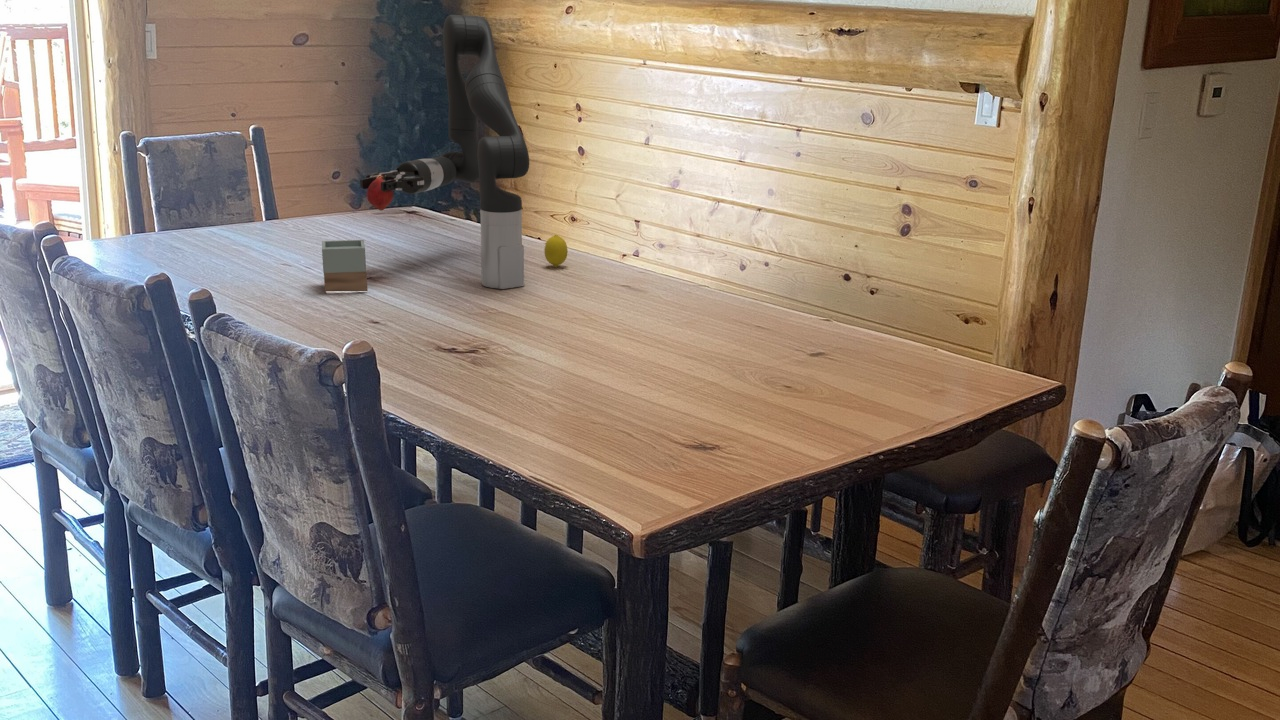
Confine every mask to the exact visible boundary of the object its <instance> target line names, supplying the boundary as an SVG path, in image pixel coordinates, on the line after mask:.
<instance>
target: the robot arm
mask: <svg viewBox="0 0 1280 720" xmlns="http://www.w3.org/2000/svg"><path fill="white" fill-rule="evenodd" d="M442 29H443V31H442V42H443V43H442V45H443V54H444V68H445V76H446V87H447V96H448V138H449V140H450V141H451V142H452V143H455V144H458V145H459V146H460V149H461V151H462V152H458V151H447V152H444V153H442V154H440V155H439V156H437V157H431V158H419V159H414V160H413V159H412V160H409V161H404V162H402V163H400V164H399V165H398V166H397V168H396V169H395V170H390V171H388V172H387V171H386V172H382V171H376V172H372V173H369V174H366V175H365V178H361V179H360V180H359V183H360V186H359V187H360V189H361V190H367V189H368V187H369V185H370V184H371V183H372V182H373V181H374V180H375V179H376V178H377V176H379V175H382V176H383V178H382V179H383V180H385V181H382V182H381V191H383V192H386V191H390V190H393V191H401V192H402V193H405V194H407V195H414V194H418V193H424V192H429V191H431V190H434V189H437V188H440V187H444V186H447V185H450V184H451V183H453V181H457V182H464V183H470V184H471V183H472V184H473V183H477V182H478V181H479V205H480V206H479V209H480V213H479V214H480V266H481V285H482V286H484V287H486V288H492V289H498V290H507V289H512V288H513V289H514V288H518V287H519V288H520V287H523V286H525V256H524V255H525V252H524V251H525V249H524V248H525V246H524V245H523V224H522V223H523V201H522V197H521V196H520V195H518V194H516V193H513V192H510V191H506V190H504V189H502V188H501V187H499V186H498V185H497V181H496V180H498V179H504V180H505V179H518V178H523V177H524V176H525V175H527V173H528V172H529V169H530V156H529V155H530V154H529V151H528V147H527V143H526V141H525V138H524V135H523V133H522V132H521V129H520V127H519V124H518V122H517V120H516V118H515V114H514V111H513V108H512V104H511V100H510V96H509V93H508V90H507V87H506V83H505V80H504V78H503V75H502V72H501V70H500V69H501V68H500V65H499V62H498V59H497V55H496V48H495V45H494V38H493V35H492V29H491V26H490V24H489V21H488V20H487V19H486V18H485V17H483V16H479V15H477V16H476V15H466V14H465V15H464V14H449V15H448V16H446V18H445V20H444V23H443V28H442ZM459 56H471V57H472V56H473V57H478V61H477V62H476V64H475V65H474V66H473V67H472V69H471V70H470V72H469V74H468V75H467V77H466V79H464V77H463V75H462V71H461V69H460V64H459ZM478 121H481V123H484V125H486V126H487V127H489V129H491V130H492V131H494V133H496V134H497V135H498V136H497V135H496V136H495V135H493V136H491V135H490V136H483V137H481V138H480V139H479V136H478V125H479V122H478Z"/></svg>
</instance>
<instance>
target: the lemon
mask: <svg viewBox="0 0 1280 720" xmlns="http://www.w3.org/2000/svg"><path fill="white" fill-rule="evenodd" d="M567 256H568V246H567V242H566V241H565V239H564V238H562V236H560V235H558V234H554V235H553V236H551V237H550V238H548V239H547V240H546V242H545V246H544V257H545V260H546V261H547V262H548V263H549V264H551V265H552V266H553V267H554V268H557V267H558V268H559V265H561V264H563V263H564V262H566V259H567Z"/></svg>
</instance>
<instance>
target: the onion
mask: <svg viewBox="0 0 1280 720" xmlns="http://www.w3.org/2000/svg"><path fill="white" fill-rule="evenodd" d="M382 178H383V176H382V175H379V176H377V178H376V179H375V180H374V181H373V182H372V183H371V184H370V185H369V187H368V188H367V189H366V199H367V200H368V202H369V204H371V206H372V207H374V208H375V209H377V210H379V211H384V210H385V208H387V207H388V206H389V205H390V204H391V203H392V201H393V199H394V190H390V191H386V192H383V191H381V182H382V181H385V180H383V179H382Z"/></svg>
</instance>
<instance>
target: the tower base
mask: <svg viewBox="0 0 1280 720" xmlns="http://www.w3.org/2000/svg"><path fill="white" fill-rule="evenodd" d="M367 272H368V271H367V270H366V271H365V272H339V273H323V281H324V284H323V285H324V292H325V291H368V292H369V290H368V276H367V275H368V273H367Z"/></svg>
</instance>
